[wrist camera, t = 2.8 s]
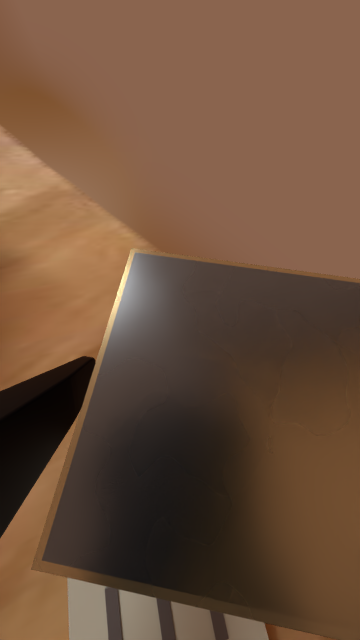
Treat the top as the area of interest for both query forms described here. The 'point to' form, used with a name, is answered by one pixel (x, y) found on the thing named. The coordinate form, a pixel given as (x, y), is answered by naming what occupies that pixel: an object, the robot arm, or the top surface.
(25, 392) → the robot arm
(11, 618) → the top surface
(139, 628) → the tile
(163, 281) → the tea tin
